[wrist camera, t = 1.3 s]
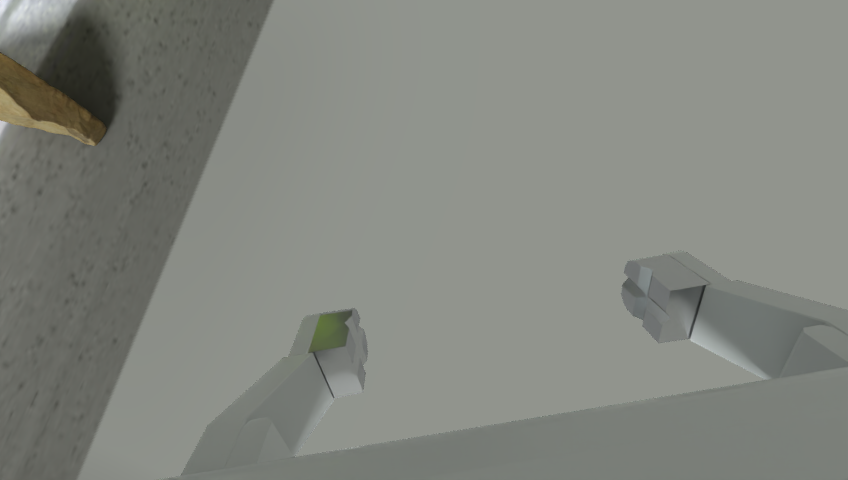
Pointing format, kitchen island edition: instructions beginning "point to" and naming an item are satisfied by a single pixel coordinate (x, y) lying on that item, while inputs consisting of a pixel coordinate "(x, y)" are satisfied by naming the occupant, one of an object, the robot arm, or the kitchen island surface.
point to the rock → (43, 105)
